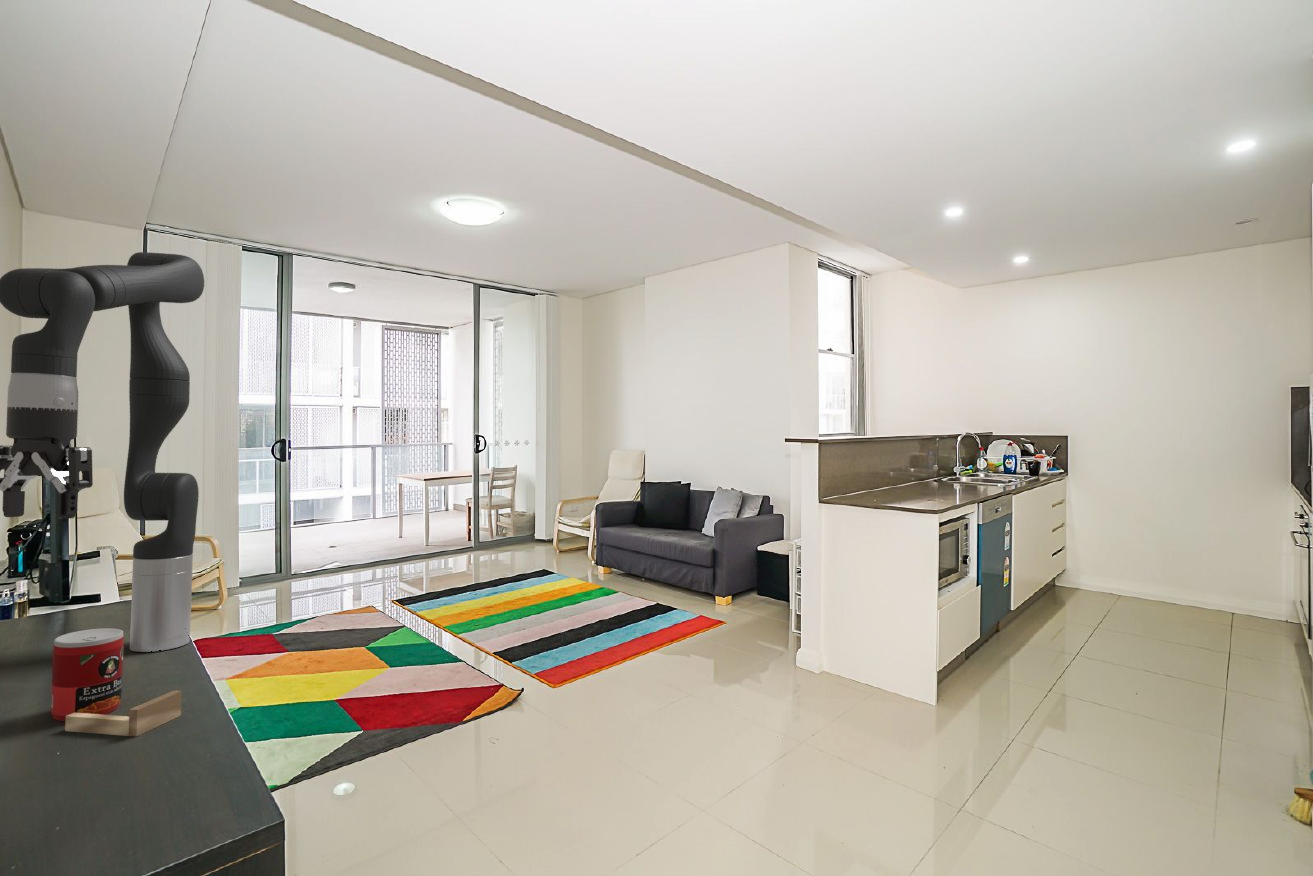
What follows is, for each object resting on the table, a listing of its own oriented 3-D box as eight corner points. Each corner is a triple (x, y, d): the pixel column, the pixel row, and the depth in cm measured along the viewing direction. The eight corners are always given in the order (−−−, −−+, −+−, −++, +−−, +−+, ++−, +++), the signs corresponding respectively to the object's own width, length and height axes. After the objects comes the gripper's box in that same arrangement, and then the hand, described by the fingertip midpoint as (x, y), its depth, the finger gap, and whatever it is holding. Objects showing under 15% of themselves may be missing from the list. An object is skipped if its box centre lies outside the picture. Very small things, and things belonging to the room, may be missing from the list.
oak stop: (65, 731, 87) (66, 704, 87) (114, 710, 94) (115, 686, 94) (136, 736, 86) (137, 710, 86) (181, 715, 93) (181, 690, 93)
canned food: (80, 725, 89) (83, 644, 90) (34, 719, 91) (38, 640, 91) (135, 704, 97) (138, 630, 97) (92, 699, 98) (95, 626, 99)
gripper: (111, 408, 98) (108, 516, 97) (27, 407, 99) (24, 513, 99) (60, 405, 90) (56, 522, 90) (-30, 404, 92) (-34, 518, 91)
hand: (39, 517), depth 94 cm, fingers open, 8 cm apart
